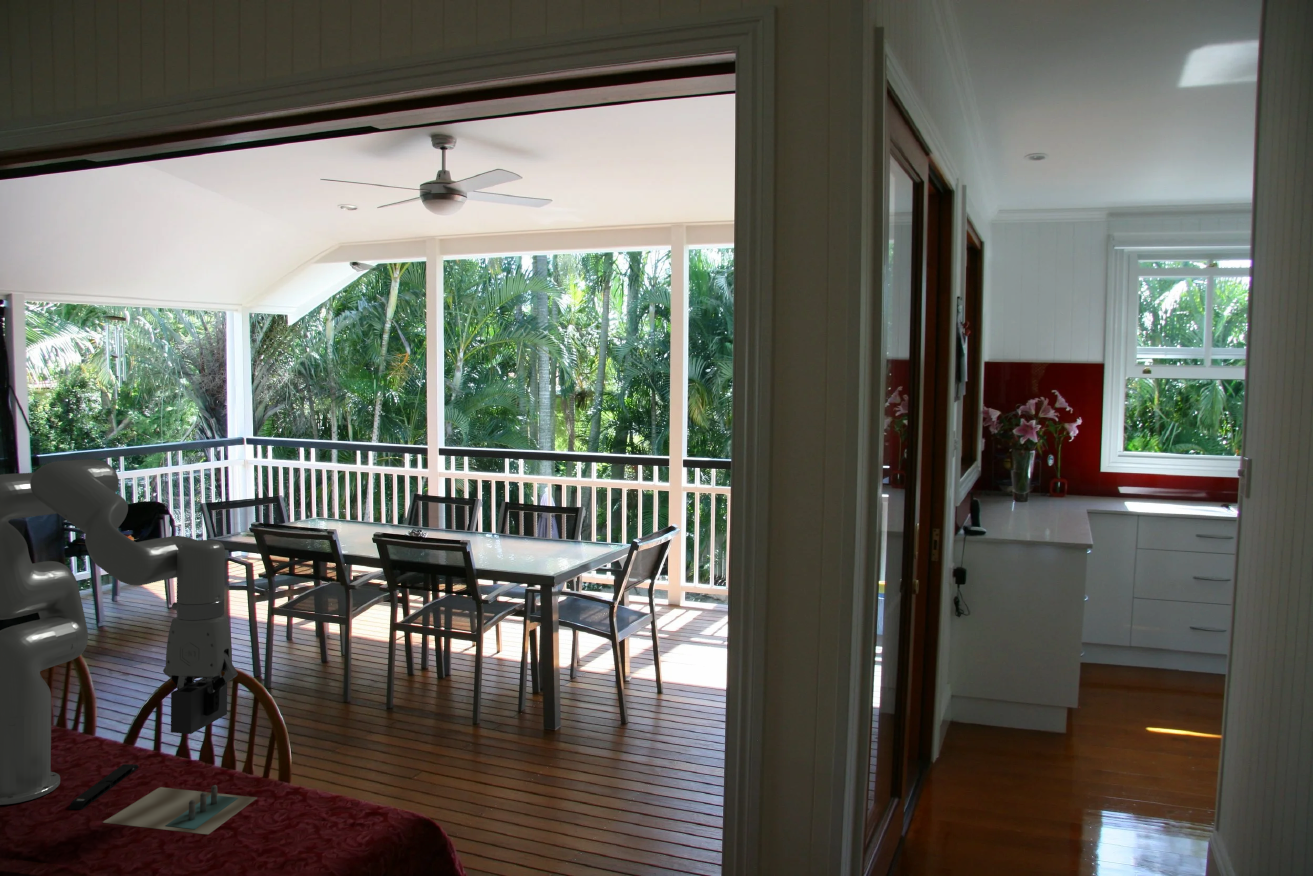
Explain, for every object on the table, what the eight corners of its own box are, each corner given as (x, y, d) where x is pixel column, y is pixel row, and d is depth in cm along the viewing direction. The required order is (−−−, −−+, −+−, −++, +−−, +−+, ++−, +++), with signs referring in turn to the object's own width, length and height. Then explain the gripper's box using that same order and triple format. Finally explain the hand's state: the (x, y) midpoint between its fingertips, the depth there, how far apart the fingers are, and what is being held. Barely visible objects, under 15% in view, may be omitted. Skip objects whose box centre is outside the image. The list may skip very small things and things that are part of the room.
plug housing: (190, 734, 147) (191, 694, 147) (170, 732, 148) (171, 692, 148) (226, 714, 157) (227, 676, 157) (208, 712, 158) (208, 675, 157)
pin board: (102, 830, 148) (102, 802, 148) (159, 795, 162) (160, 769, 162) (208, 843, 145) (208, 814, 145) (257, 805, 159) (257, 779, 159)
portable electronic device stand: (126, 776, 170) (126, 761, 170) (139, 776, 170) (139, 761, 170) (67, 819, 152) (67, 803, 152) (82, 820, 152) (82, 803, 152)
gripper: (142, 612, 149) (142, 716, 150) (230, 618, 147) (229, 723, 148) (172, 603, 157) (172, 701, 157) (256, 608, 154) (255, 708, 155)
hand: (199, 711), depth 152 cm, fingers closed on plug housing, 3 cm apart
